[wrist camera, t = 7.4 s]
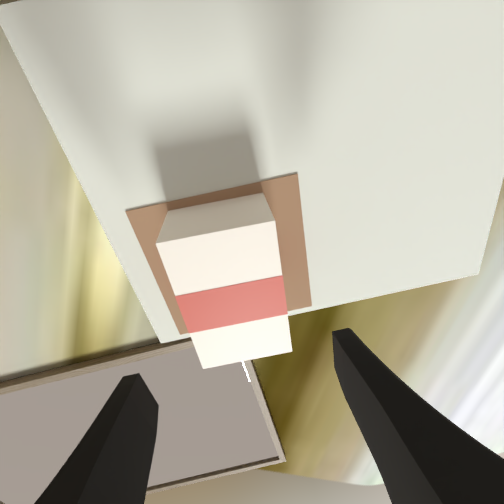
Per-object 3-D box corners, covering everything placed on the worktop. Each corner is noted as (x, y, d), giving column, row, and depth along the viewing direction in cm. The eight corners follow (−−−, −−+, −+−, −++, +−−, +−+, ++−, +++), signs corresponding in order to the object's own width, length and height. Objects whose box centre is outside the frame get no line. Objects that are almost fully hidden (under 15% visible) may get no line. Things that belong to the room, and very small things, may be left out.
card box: (280, 307, 19) (292, 351, 16) (204, 322, 19) (202, 369, 16) (263, 192, 15) (275, 220, 12) (167, 210, 15) (154, 243, 12)
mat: (570, -117, 11) (584, -125, 10) (473, 271, 20) (479, 275, 20) (-2, 9, 11) (-11, 6, 11) (161, 339, 20) (160, 344, 20)
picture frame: (28, 511, 31) (284, 450, 30) (22, 524, 30) (286, 461, 29) (-135, 411, 21) (238, 318, 21) (-150, 425, 20) (239, 328, 20)
